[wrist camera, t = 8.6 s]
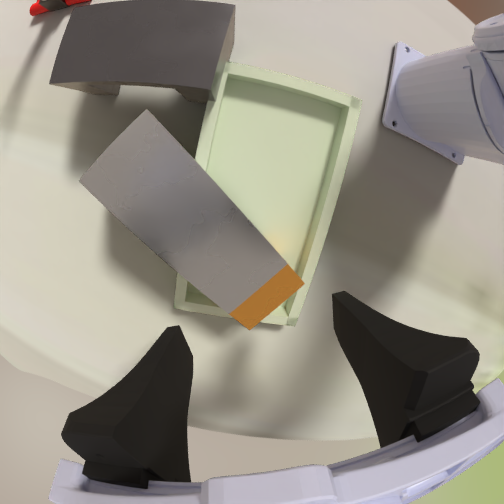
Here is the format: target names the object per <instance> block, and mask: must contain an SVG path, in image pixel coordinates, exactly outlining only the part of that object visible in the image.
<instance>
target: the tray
mask: <svg viewBox="0 0 504 504" xmlns="http://www.w3.org/2000/svg"><path fill="white" fill-rule="evenodd" d="M361 105H362V100H361V99H358V98H356V97H353V96H351V95H348V94H345V93H343V92H340V91H337V90H335V89H332V88H329V87H326V86H323V85H320V84H317V83H314V82H311V81H307V80H304V79H301V78H297V77H294V76H290V75H287V74H283V73H279V72H275V71H271V70H267V69H263V68H258V67H253V66H249V65H244V64H238V63H233V62H227V61H226V64H225V68H224V71H223V75H222V79H221V83H220V87H219V91H218V95H217V99H216V102H215V101H209V100H208V102H207V106H206V110H205V114H204V119H203V123H202V128H201V132H200V137H199V142H198V146H197V151H196V156H195V160H196V162H197V163H198V164H199V165H200V166H201V167H202V168H203V169H204V170H205V171H206V172H207V174H208V175H209V176H210V177H211V178H212V179H213V180H214V181H215V182H216V183H217V184H218V186H219V187H220V188H221V189H222V190H223V191H224V192H225V193H226V194H227V196H228V197H229V198H230V199H231V200H232V201H233V202H234V203H235V204H236V206H237V207H238V208H239V209H240V210H241V211H242V212H243V213H244V214H245V216H246V217H247V218H248V219H249V220H250V221H251V222H252V223H253V224H254V226H255V227H256V228H257V229H258V230H259V231H260V232H261V233H262V235H263V236H264V237H265V238H266V239H267V240H268V241H269V243H270V244H271V245H272V246H273V247H274V248H275V249H276V250H277V252H278V253H279V254H280V255H281V256H282V257H283V259H284V260H285V261H286V262H287V263H288V264H289V265H290V267H291V268H292V269H293V270H294V271H295V272H296V274H297V275H298V276H299V277H300V278H301V279H302V281H303V282H304V283H305V284H304V285H303V286H302V287H301V288H300V289H298V290H297V291H296V292H295V293H294V294H293V295H291V296H290V297H289V298H288V299H287V300H286V301H284V302H283V303H282V304H281V305H280V306H278V307H277V308H276V309H275V310H274V311H273V312H271V313H270V314H269V315H268V316H266V317H265V318H264V319H263V320H262V321H260V322H263V323H270V324H278V325H287V326H295V325H296V322H297V320H298V317H299V314H300V312H301V309H302V306H303V303H304V301H305V298H306V295H307V292H308V290H309V287H310V284H311V281H312V278H313V275H314V272H315V269H316V266H317V263H318V260H319V257H320V254H321V251H322V248H323V245H324V242H325V239H326V236H327V232H328V229H329V226H330V223H331V219H332V216H333V213H334V209H335V206H336V203H337V199H338V196H339V192H340V189H341V185H342V182H343V178H344V174H345V170H346V167H347V163H348V159H349V155H350V151H351V147H352V143H353V139H354V135H355V131H356V127H357V122H358V118H359V114H360V109H361ZM174 308H175V309H180V310H186V311H191V312H197V313H203V314H209V315H215V316H221V317H228V318H233V317H232V316H231V315H229V314H228V313H227V312H226V311H224V310H223V309H222V308H220V307H219V306H218V305H217V304H215V303H214V302H213V301H212V300H211V299H209V298H208V297H207V296H206V295H204V294H203V293H202V292H201V291H199V290H198V289H197V288H196V287H195V286H193V285H192V284H191V283H190V282H189V281H187V280H186V279H185V278H184V277H183V276H181V275H180V274H179V273H178V272H177V279H176V288H175V298H174Z"/></svg>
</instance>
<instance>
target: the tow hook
mask: <svg viewBox="0 0 504 504" xmlns="http://www.w3.org/2000/svg"><path fill="white" fill-rule="evenodd" d="M85 1H90V0H37V2H36V3H34V4H33V5H32V6H31V7H30V14H31V15H32V16H35V15H38V14H41V13H44V12H47V11H53V10H57V9H60V8H64V7H68V6H70V5H72V4H76V3H81V2H85Z"/></svg>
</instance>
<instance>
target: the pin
mask: <svg viewBox="0 0 504 504" xmlns="http://www.w3.org/2000/svg"><path fill="white" fill-rule="evenodd" d="M79 182H80V183H81V184H82V185H83V186H84V187H85V188H86V189H87V190H88V191H89V192H90V193H91V194H92V195H93V196H95V197H96V198H97V199H98V200H99V201H100V202H101V203H102V204H103V205H104V206H105V207H106V208H107V209H108V210H109V211H110V212H111V213H112V214H113V215H114V216H115V217H116V218H117V219H118V220H120V221H121V222H122V223H123V224H124V225H125V226H126V227H127V228H128V229H129V230H130V231H131V232H133V233H134V234H135V235H136V236H137V237H138V238H139V239H140V240H141V241H142V242H144V243H145V244H146V245H147V246H148V247H149V248H150V249H151V250H153V251H154V252H155V253H156V254H157V255H158V256H159V257H160V258H162V259H163V260H164V261H165V262H166V263H167V264H169V265H170V266H171V267H172V268H173V269H174V270H176V271H177V272H178V273H179V274H180V275H181V276H183V277H184V278H185V279H186V280H187V281H189V282H190V283H191V284H192V285H193V286H195V287H196V288H197V289H198V290H199V291H201V292H202V293H203V294H204V295H206V296H207V297H208V298H209V299H211V300H212V301H213V302H214V303H215V304H217V305H218V306H219V307H220V308H222V309H223V310H224V311H226V312H227V313H228V314H229V315H231V316H232V317H233V318H234V319H236V320H237V321H238V322H240V323H241V324H242V325H244V326H245V327H246V328H247V329H249V330H251V329H252V328H253V327H254V326H256V325H257V324H258V323H259V322H260V321H262V320H263V319H264V318H265V317H266V316H268V315H269V314H270V313H271V312H273V311H274V310H275V309H276V308H277V307H278V306H280V305H281V304H282V303H283V302H284V301H286V300H287V299H288V298H289V297H290V296H291V295H293V294H294V293H295V292H296V291H297V290H298V289H300V288H301V287H302V286H303V285H304V284H305V283H304V282H303V281H302V279H301V278H300V277H299V276H298V275H297V274H296V272H295V271H294V270H293V269H292V268H291V267H290V265H289V264H288V263H287V262H286V261H285V260H284V259H283V257H282V256H281V255H280V254H279V253H278V252H277V250H276V249H275V248H274V247H273V246H272V245H271V244H270V243H269V241H268V240H267V239H266V238H265V237H264V236H263V235H262V233H261V232H260V231H259V230H258V229H257V228H256V227H255V226H254V224H253V223H252V222H251V221H250V220H249V219H248V218H247V217H246V216H245V214H244V213H243V212H242V211H241V210H240V209H239V208H238V207H237V206H236V204H235V203H234V202H233V201H232V200H231V199H230V198H229V197H228V196H227V194H226V193H225V192H224V191H223V190H222V189H221V188H220V187H219V186H218V184H217V183H216V182H215V181H214V180H213V179H212V178H211V177H210V176H209V175H208V174H207V172H206V171H205V170H204V169H203V168H202V167H201V166H200V165H199V164H198V163H197V162H196V160H195V159H194V158H193V157H192V156H191V155H190V154H189V153H188V152H187V151H186V150H185V149H184V147H183V146H182V145H181V144H180V143H179V142H178V141H177V140H176V139H175V138H174V137H173V136H172V135H171V133H170V132H169V131H168V130H167V129H166V128H165V127H164V126H163V125H162V124H161V123H160V122H159V121H158V120H157V119H156V118H155V116H154V115H153V114H152V113H151V112H150V111H149V110H147V109H146V110H145V111H144V112H143V113H142V114H141V115H139V116H138V117H137V118H136V119H135V120H134V121H133V122H132V123H131V124H130V125H129V126H128V127H127V128H126V129H125V130H124V131H123V132H122V133H121V134H120V135H119V136H118V137H117V138H116V139H115V140H114V141H113V142H112V143H111V144H110V145H109V147H108V148H107V149H106V150H105V151H104V152H103V153H102V154H101V155H100V156H99V157H98V159H97V160H96V161H95V162H94V163H93V164H92V165H91V167H90V168H89V169H88V170H87V171H86V173H85V174H84V175H83V176H82V177H81V179H80V180H79Z"/></svg>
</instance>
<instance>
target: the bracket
mask: <svg viewBox="0 0 504 504" xmlns="http://www.w3.org/2000/svg"><path fill="white" fill-rule="evenodd" d="M234 31H235V5H232V4H225V3H217V2H207V1H195V0H129V1H117V2H108V3H100V4H93V5H87V6H81V7H76V8H74V10H73V12H72V14H71V17H70V19H69V22H68V24H67V27H66V30H65V32H64V35H63V38H62V41H61V44H60V47H59V50H58V53H57V57H56V60H55V64H54V67H53V71H52V75H51V79H50V83H49V84H51V85H56V86H61V87H65V88H70V89H74V90H79V91H83V92H87V93H91V94H95V95H118V93H119V89H120V85H133V86H150V87H163V88H173V89H176V90H177V91H178V92H179V93H180V94H181V95H182V96H184V97H185V98H186V99H187V100H188V101H191V102H198V103H205V104H207V102H208V100H209V101H215V102H216V99H217V95H218V91H219V87H220V83H221V79H222V75H223V71H224V68H225V64H226V61H227V62H229V59H230V55H231V52H232V48H233V45H234Z"/></svg>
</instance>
